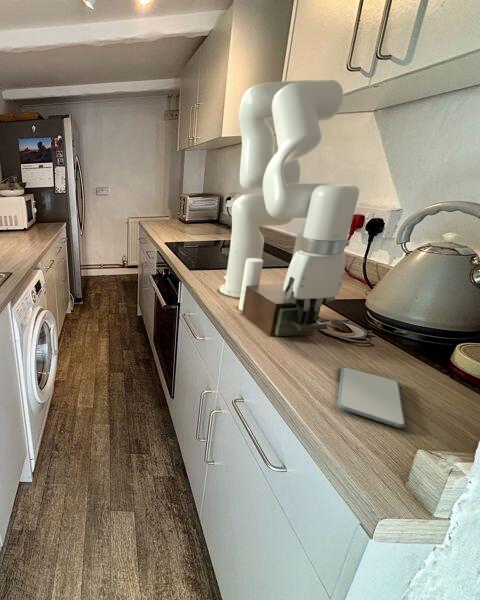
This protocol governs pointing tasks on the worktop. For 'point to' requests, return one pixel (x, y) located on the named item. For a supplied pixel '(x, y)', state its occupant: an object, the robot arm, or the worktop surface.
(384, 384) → the smartphone
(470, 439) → the worktop surface
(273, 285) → the cabinet
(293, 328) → the drawer
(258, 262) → the tube
